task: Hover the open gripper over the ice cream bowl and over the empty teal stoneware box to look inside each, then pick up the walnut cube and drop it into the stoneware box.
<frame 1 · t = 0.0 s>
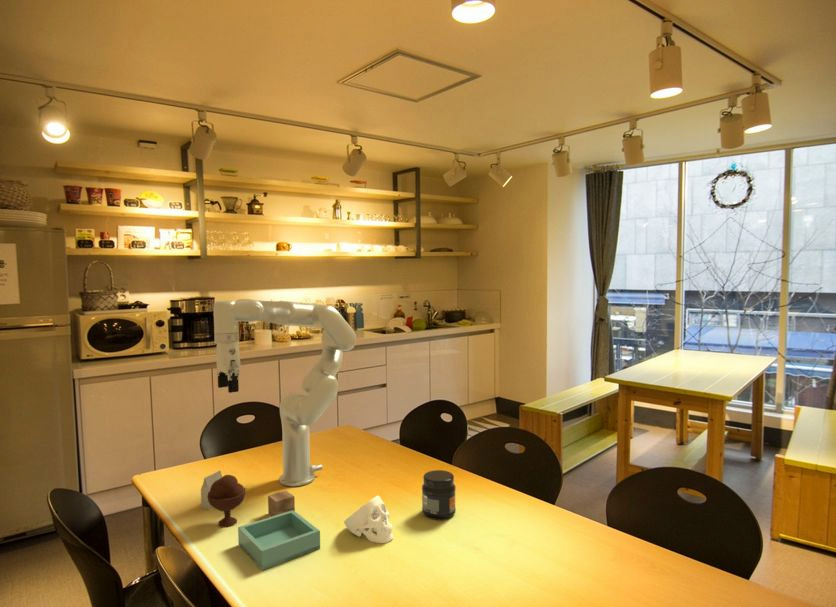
hand: (228, 389, 174), 37 cm above the table, tool pointing down, fingers open, 9 cm apart
stoneware box: (279, 546, 144), on the table
walnut cube: (281, 514, 164), on the table
tea bag: (213, 505, 172), on the table
supplement container: (438, 513, 164), on the table
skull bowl: (369, 534, 151), on the table
ice cream bowl: (227, 523, 158), on the table
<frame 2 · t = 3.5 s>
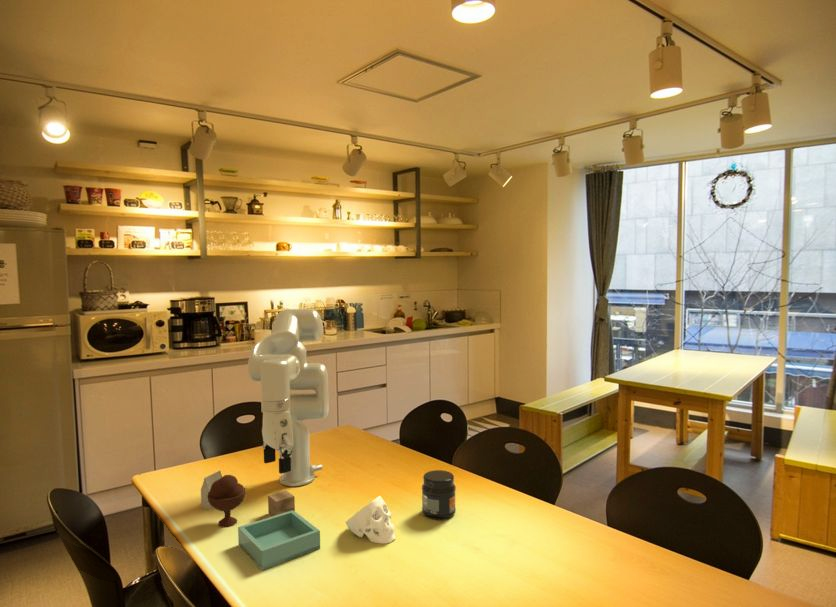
hand: (277, 467, 143), 22 cm above the table, tool pointing down, fingers open, 9 cm apart
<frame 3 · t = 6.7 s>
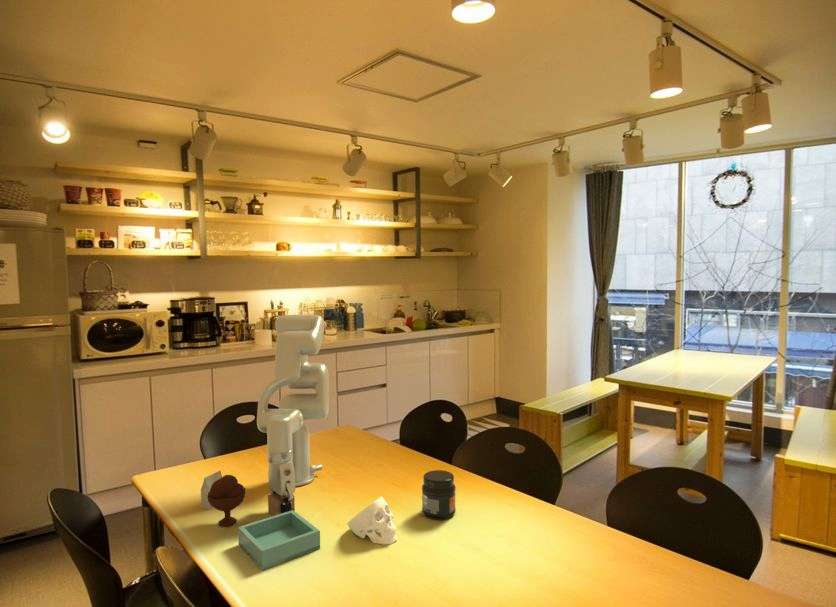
hand: (281, 511, 164), 1 cm above the table, tool pointing down, fingers closed on walnut cube, 6 cm apart
walnut cube: (281, 514, 164), on the table, touching gripper
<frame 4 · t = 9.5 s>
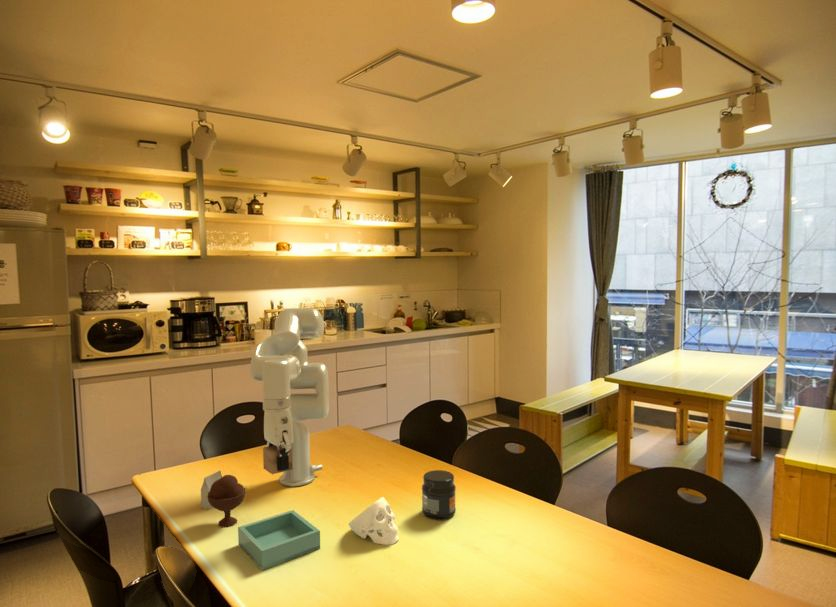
hand: (277, 466, 149), 21 cm above the table, tool pointing down, fingers closed on walnut cube, 6 cm apart
walnut cube: (277, 468, 149), point 20 cm above the table, touching gripper
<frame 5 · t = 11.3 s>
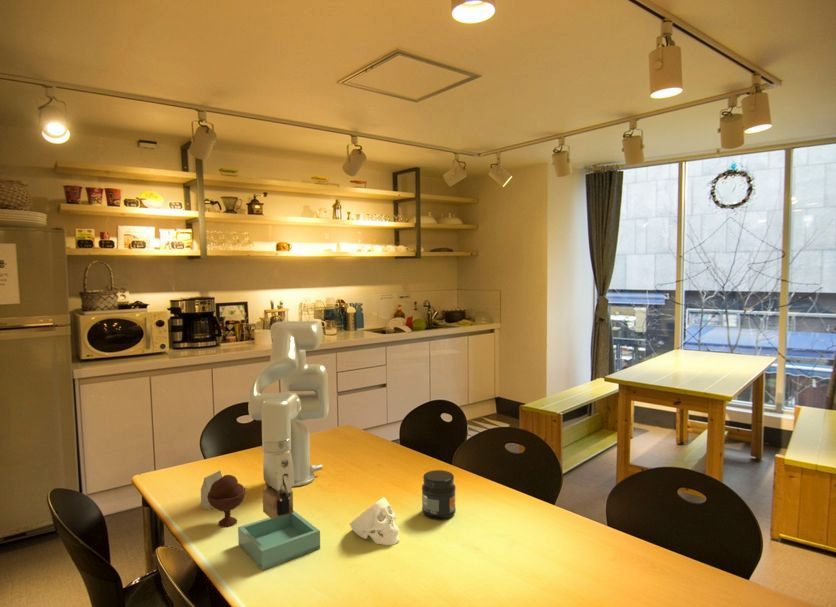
hand: (278, 509, 144), 11 cm above the table, tool pointing down, fingers closed on walnut cube, 6 cm apart
walnut cube: (278, 512, 144), point 10 cm above the table, touching gripper
when the fingers open (5 cm above the table, at t = 12.6 s): walnut cube drops 4 cm, resting on stoneware box.
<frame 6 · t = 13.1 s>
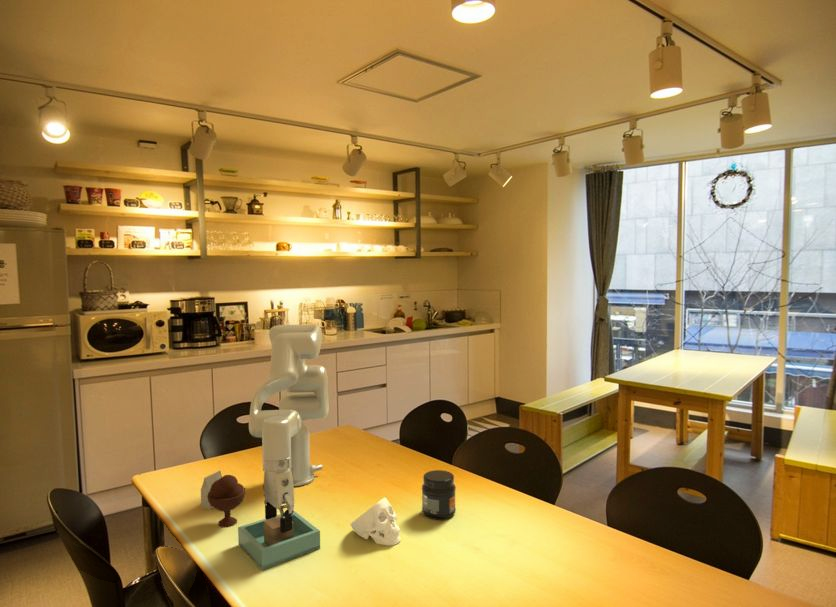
hand: (278, 524, 144), 6 cm above the table, tool pointing down, fingers open, 9 cm apart
walnut cube: (278, 543, 144), point 1 cm above the table, touching stoneware box
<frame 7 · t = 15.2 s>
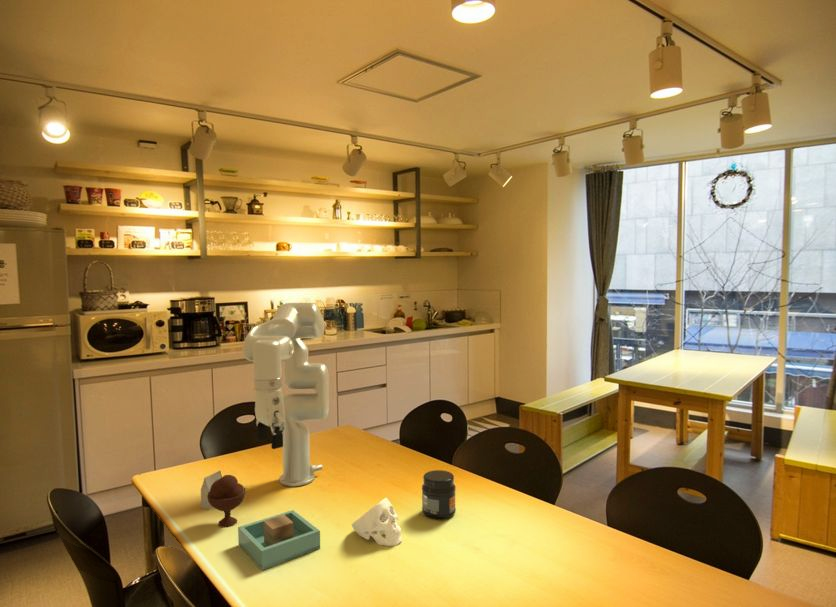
hand: (269, 443, 149), 27 cm above the table, tool pointing down, fingers open, 9 cm apart
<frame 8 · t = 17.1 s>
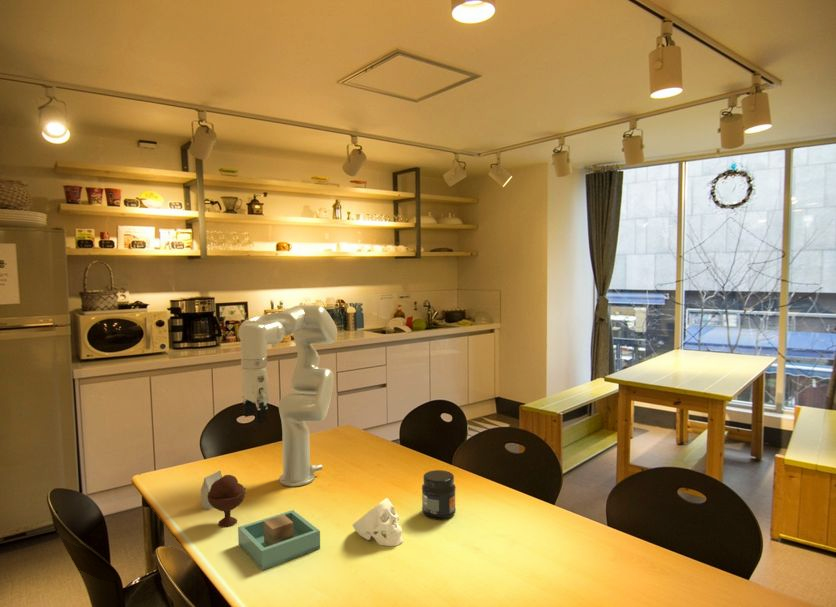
hand: (255, 419, 162), 30 cm above the table, tool pointing down, fingers open, 9 cm apart
at the end: walnut cube inside the target area on the stoneware box (0.1 cm from its centre), point 1.0 cm above the stoneware box's base; the gripper is holding nothing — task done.
